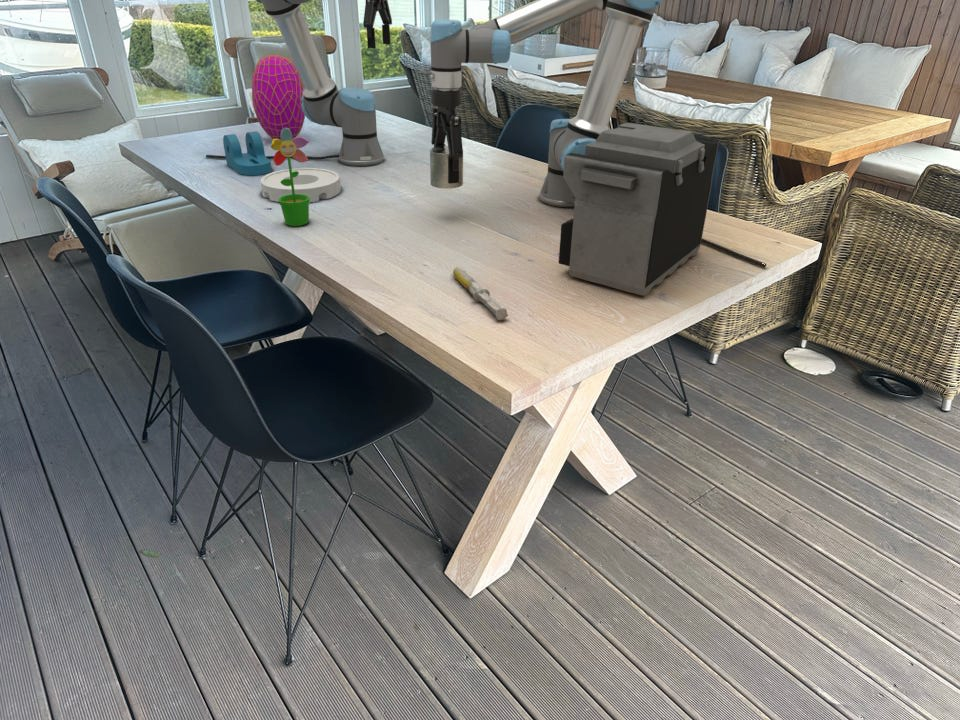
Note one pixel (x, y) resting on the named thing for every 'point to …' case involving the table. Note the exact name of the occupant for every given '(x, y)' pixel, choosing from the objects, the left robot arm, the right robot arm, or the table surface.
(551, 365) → the table surface
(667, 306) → the table surface
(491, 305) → the syringe
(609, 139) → the grey cooler box
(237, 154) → the camera mount
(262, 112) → the decorative egg
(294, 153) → the potted flower
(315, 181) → the white notched ring base
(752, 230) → the table surface
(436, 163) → the can
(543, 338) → the table surface
